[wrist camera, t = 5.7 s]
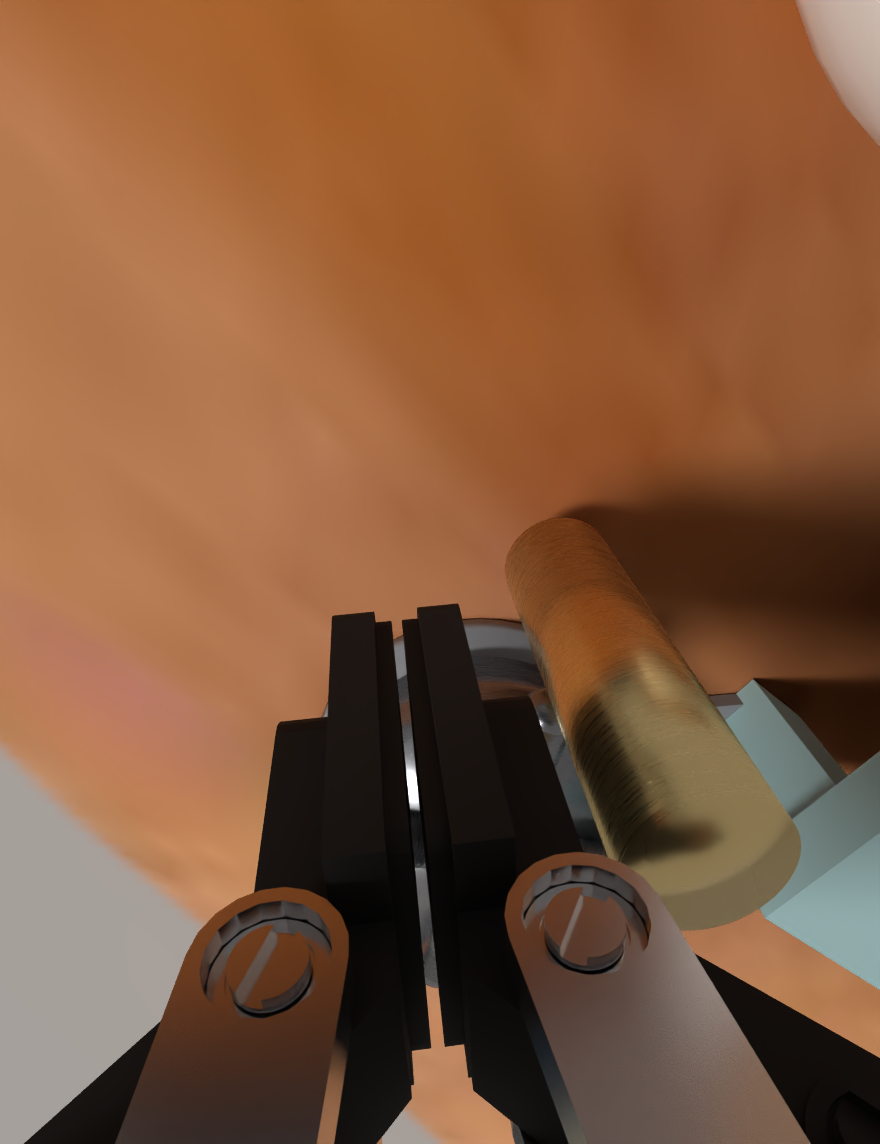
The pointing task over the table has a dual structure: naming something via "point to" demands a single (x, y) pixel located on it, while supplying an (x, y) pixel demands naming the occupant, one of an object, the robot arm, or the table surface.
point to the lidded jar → (848, 53)
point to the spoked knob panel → (809, 795)
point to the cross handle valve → (627, 739)
